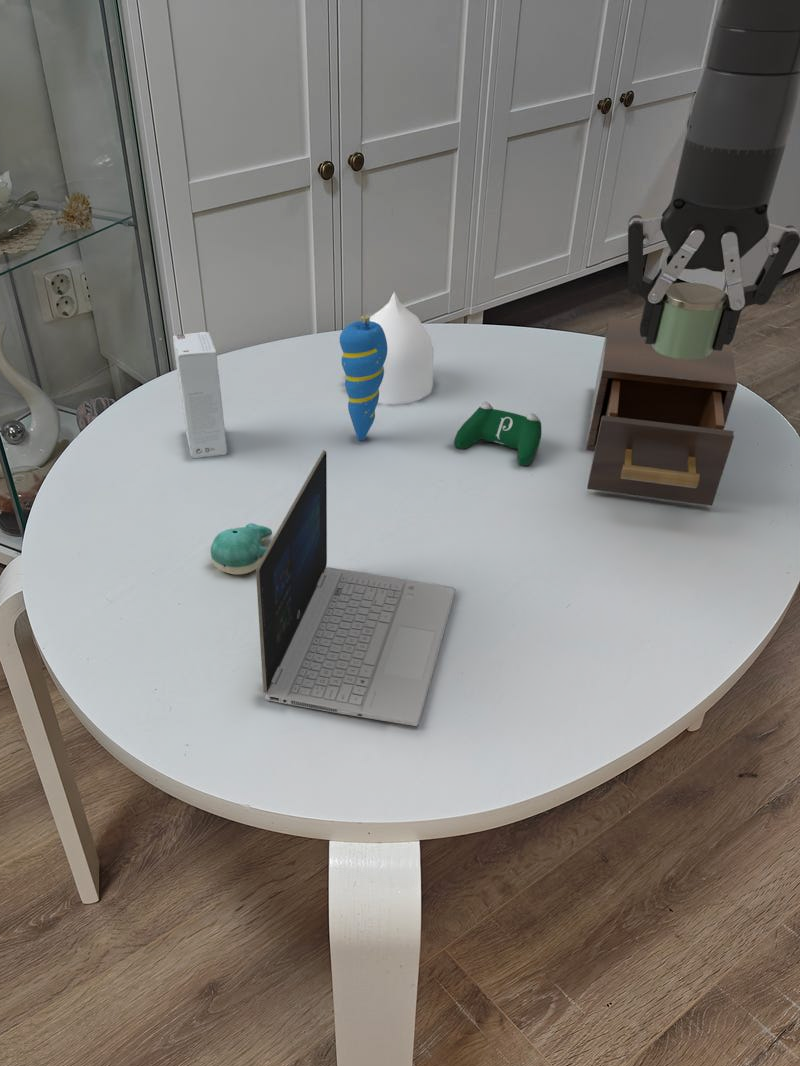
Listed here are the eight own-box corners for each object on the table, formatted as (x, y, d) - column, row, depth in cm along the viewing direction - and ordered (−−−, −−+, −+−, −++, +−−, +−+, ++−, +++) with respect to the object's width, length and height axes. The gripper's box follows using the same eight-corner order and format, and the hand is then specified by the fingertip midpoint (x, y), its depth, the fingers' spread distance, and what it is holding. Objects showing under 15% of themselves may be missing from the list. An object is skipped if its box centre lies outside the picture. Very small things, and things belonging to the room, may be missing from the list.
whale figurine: (198, 569, 86) (194, 536, 83) (237, 531, 91) (234, 498, 88) (251, 586, 84) (249, 552, 81) (288, 545, 89) (287, 512, 86)
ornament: (334, 447, 104) (335, 317, 94) (344, 427, 107) (345, 300, 98) (378, 452, 103) (384, 321, 93) (387, 431, 106) (393, 304, 97)
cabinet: (712, 467, 100) (737, 384, 93) (585, 451, 103) (602, 370, 96) (707, 405, 111) (729, 328, 105) (593, 392, 114) (609, 317, 108)
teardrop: (367, 362, 122) (370, 270, 114) (445, 376, 118) (453, 283, 110) (332, 394, 114) (332, 299, 106) (414, 411, 110) (420, 313, 103)
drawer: (713, 532, 88) (737, 460, 83) (583, 513, 91) (598, 443, 86) (707, 440, 102) (726, 374, 97) (594, 426, 105) (608, 362, 100)
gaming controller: (533, 475, 102) (552, 425, 102) (527, 463, 99) (547, 412, 99) (458, 454, 106) (476, 407, 106) (450, 443, 102) (469, 393, 102)
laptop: (417, 732, 69) (429, 597, 61) (262, 701, 72) (253, 568, 63) (455, 593, 82) (469, 467, 74) (322, 572, 85) (322, 447, 77)
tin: (711, 339, 84) (726, 285, 81) (714, 363, 80) (730, 306, 77) (650, 334, 85) (663, 280, 82) (650, 357, 81) (663, 300, 78)
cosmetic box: (228, 455, 102) (220, 351, 95) (189, 460, 102) (177, 356, 94) (221, 430, 107) (212, 329, 99) (183, 434, 106) (171, 333, 98)
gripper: (641, 140, 70) (600, 352, 81) (842, 150, 67) (771, 369, 78) (642, 121, 76) (603, 321, 87) (827, 129, 73) (763, 336, 84)
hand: (683, 343), depth 82 cm, fingers closed on tin, 5 cm apart
